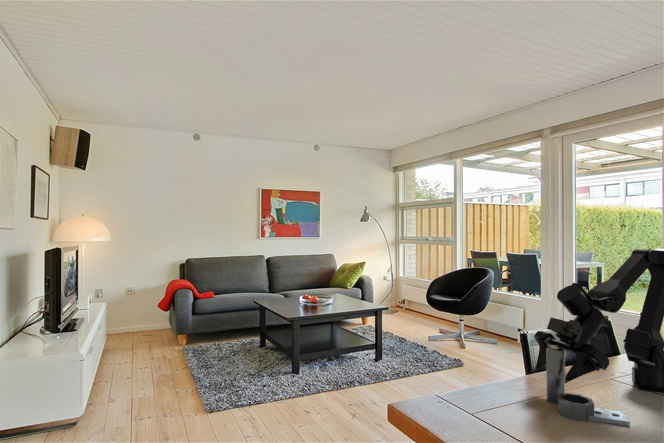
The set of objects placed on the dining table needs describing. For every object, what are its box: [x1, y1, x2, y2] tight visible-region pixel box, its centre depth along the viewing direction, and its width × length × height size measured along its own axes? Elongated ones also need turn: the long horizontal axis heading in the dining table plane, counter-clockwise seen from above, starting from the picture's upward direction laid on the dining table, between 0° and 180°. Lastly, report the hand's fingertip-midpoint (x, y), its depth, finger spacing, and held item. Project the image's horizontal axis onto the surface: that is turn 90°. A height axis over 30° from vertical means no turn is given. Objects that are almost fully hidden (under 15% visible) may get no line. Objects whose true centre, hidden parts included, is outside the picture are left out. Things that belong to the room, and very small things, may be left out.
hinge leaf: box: [557, 392, 630, 427], centre depth 98 cm, size 14×7×4 cm, turn 68°
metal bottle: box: [545, 345, 565, 405], centre depth 107 cm, size 4×4×14 cm
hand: (551, 374), depth 107 cm, fingers open, 9 cm apart
